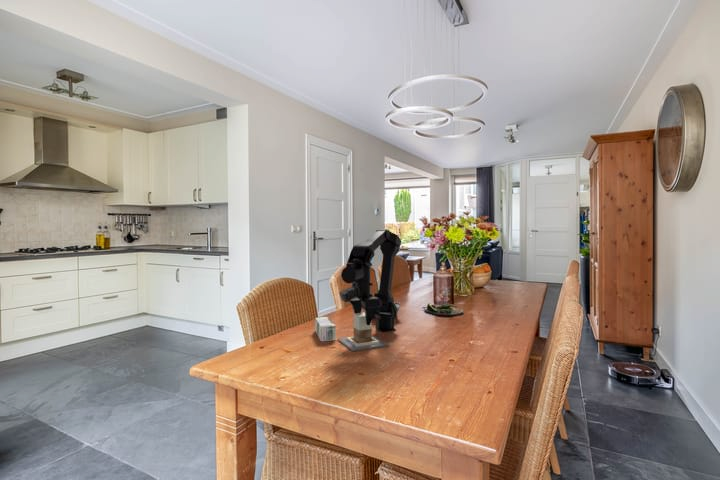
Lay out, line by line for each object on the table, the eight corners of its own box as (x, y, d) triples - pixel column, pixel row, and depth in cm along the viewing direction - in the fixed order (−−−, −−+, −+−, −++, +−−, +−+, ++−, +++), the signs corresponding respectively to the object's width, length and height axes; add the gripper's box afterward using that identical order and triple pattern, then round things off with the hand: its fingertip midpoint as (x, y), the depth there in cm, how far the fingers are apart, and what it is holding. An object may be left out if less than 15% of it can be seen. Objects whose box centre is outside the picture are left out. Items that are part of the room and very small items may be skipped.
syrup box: (328, 330, 155) (336, 340, 141) (314, 331, 153) (321, 342, 139) (328, 316, 155) (336, 325, 141) (314, 317, 153) (321, 326, 139)
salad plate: (445, 306, 200) (445, 298, 200) (472, 313, 185) (472, 304, 185) (417, 311, 189) (417, 302, 189) (443, 318, 174) (443, 309, 174)
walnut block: (365, 338, 141) (365, 325, 141) (371, 342, 137) (371, 328, 136) (353, 340, 139) (353, 327, 139) (359, 344, 135) (359, 330, 134)
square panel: (371, 335, 147) (371, 332, 147) (388, 346, 135) (388, 342, 134) (337, 340, 141) (337, 336, 141) (352, 351, 129) (352, 347, 129)
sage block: (365, 325, 141) (365, 312, 141) (371, 328, 137) (371, 315, 136) (353, 327, 139) (353, 313, 139) (359, 330, 134) (359, 316, 134)
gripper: (332, 277, 142) (333, 318, 143) (352, 284, 125) (352, 331, 126) (359, 275, 147) (359, 315, 147) (382, 282, 130) (382, 327, 130)
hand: (362, 322), depth 138 cm, fingers open, 9 cm apart
